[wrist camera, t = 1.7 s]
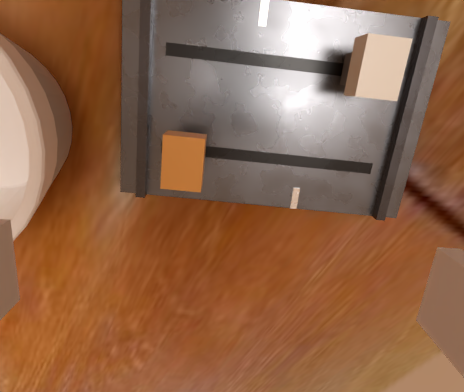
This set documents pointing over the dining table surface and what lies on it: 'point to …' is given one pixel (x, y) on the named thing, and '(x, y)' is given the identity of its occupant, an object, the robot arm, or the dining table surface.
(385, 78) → the block
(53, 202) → the dining table surface
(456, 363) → the robot arm
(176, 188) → the orange fader
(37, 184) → the bowl
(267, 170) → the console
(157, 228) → the dining table surface
